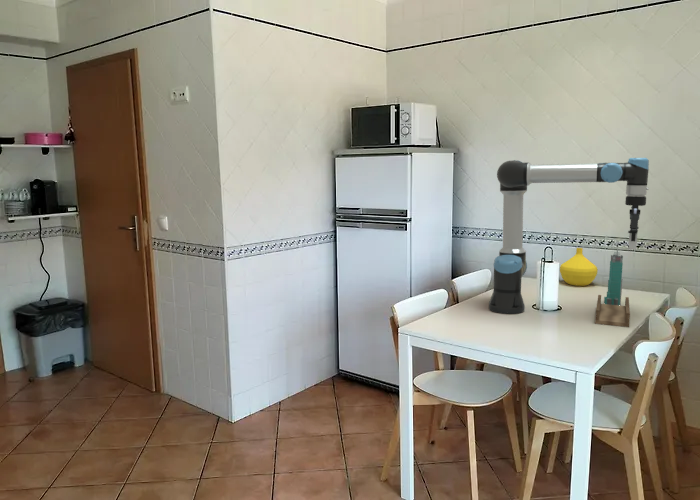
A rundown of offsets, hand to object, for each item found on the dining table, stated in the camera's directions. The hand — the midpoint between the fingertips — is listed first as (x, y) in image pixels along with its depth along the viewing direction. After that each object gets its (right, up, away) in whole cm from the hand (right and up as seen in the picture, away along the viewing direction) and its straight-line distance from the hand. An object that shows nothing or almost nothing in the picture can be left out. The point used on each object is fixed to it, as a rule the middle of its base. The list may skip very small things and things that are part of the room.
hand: (632, 246), depth 229 cm
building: (0, -26, +17) cm, 31 cm away
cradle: (-9, -29, -1) cm, 30 cm away
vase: (+2, -20, +60) cm, 63 cm away
